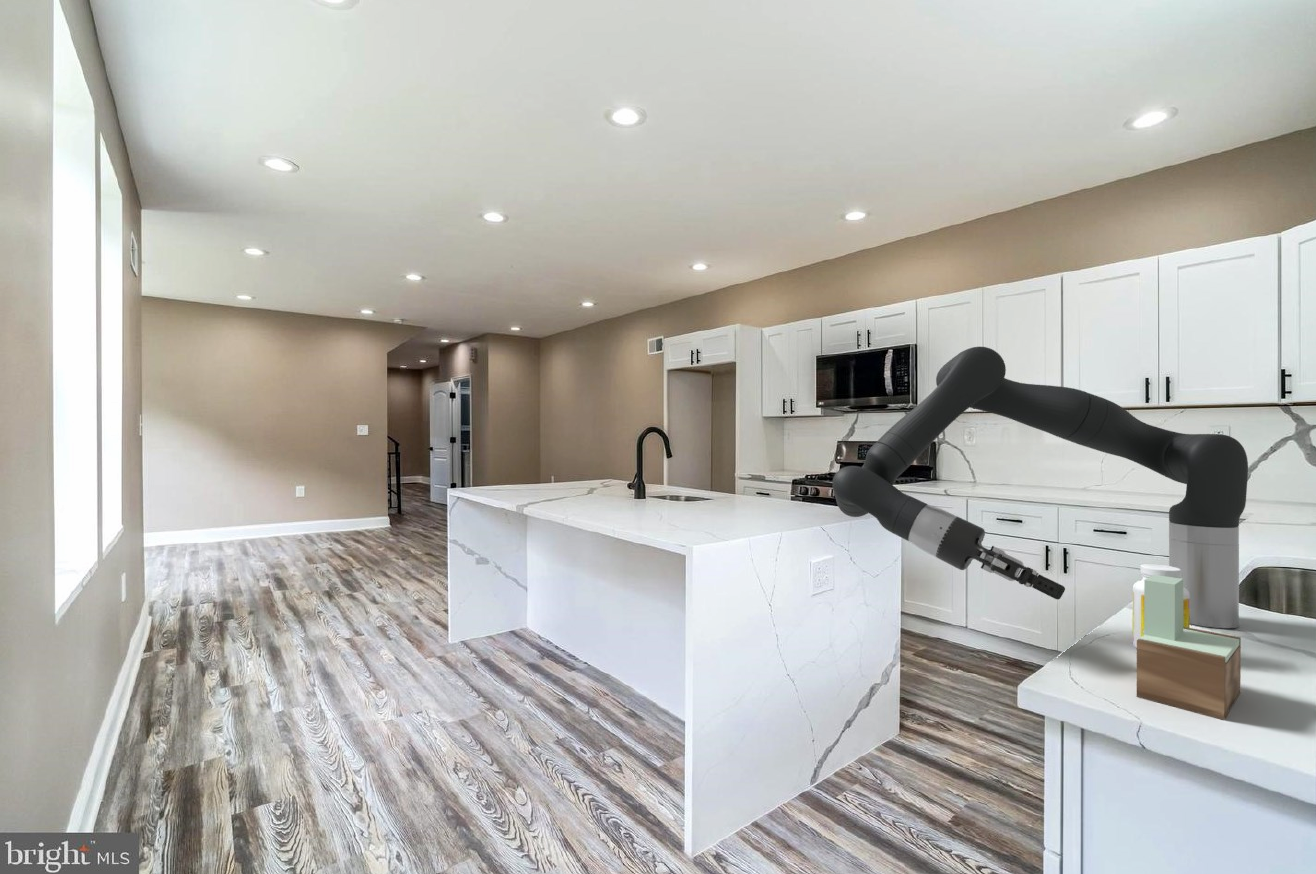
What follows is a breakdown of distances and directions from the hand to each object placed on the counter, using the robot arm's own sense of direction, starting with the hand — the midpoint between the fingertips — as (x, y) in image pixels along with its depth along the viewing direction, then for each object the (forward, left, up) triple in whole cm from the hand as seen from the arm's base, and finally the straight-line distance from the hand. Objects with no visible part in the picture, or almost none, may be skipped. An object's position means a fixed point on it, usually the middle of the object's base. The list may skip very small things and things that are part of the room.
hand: (1062, 594), depth 88 cm
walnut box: (+2, +14, -9) cm, 17 cm away
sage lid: (+2, +14, -3) cm, 15 cm away
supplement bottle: (-15, +8, -10) cm, 20 cm away
